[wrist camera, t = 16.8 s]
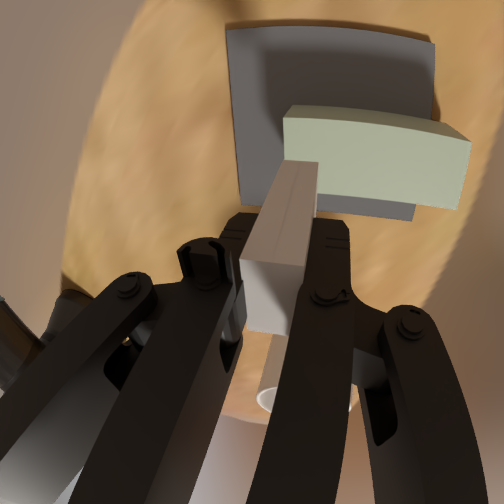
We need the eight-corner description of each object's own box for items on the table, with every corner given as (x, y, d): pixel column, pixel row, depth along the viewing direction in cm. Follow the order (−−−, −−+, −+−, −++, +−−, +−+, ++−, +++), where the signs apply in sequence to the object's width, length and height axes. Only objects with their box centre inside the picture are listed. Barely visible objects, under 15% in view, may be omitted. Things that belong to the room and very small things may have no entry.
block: (285, 191, 17) (459, 210, 14) (282, 117, 14) (475, 143, 12) (294, 164, 21) (439, 180, 18) (292, 104, 18) (449, 124, 15)
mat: (243, 201, 24) (241, 204, 24) (228, 30, 16) (226, 30, 15) (410, 217, 21) (411, 221, 21) (432, 44, 12) (435, 44, 12)
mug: (393, 292, 26) (400, 390, 18) (326, 347, 34) (315, 427, 26) (322, 253, 26) (309, 357, 18) (265, 320, 33) (241, 403, 25)
